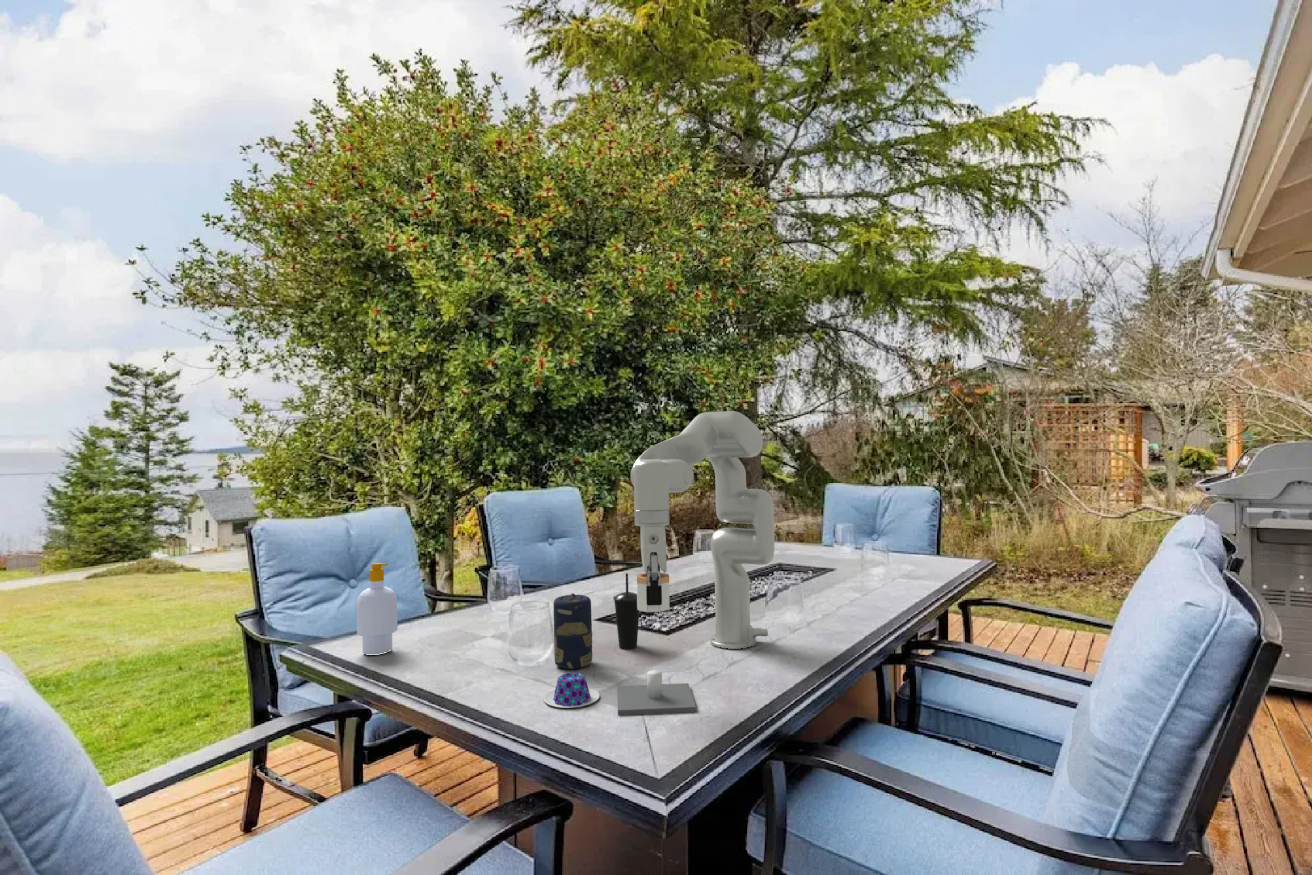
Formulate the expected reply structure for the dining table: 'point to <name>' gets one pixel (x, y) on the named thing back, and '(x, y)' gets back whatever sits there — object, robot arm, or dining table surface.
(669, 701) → the base
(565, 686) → the pudding
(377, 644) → the soap bottle
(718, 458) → the robot arm
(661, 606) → the vent collar
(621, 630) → the drinking cup
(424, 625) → the dining table surface
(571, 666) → the canister
